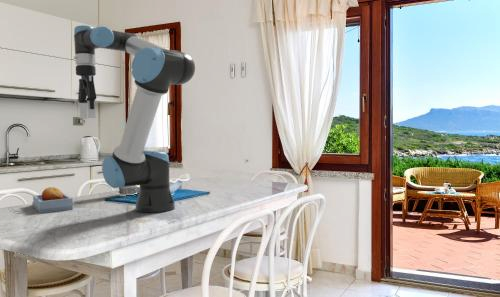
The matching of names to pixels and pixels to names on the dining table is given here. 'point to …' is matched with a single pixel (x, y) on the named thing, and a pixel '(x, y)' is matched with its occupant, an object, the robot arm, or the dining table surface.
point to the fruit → (52, 194)
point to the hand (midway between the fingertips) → (87, 118)
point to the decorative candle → (127, 191)
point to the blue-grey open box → (52, 204)
